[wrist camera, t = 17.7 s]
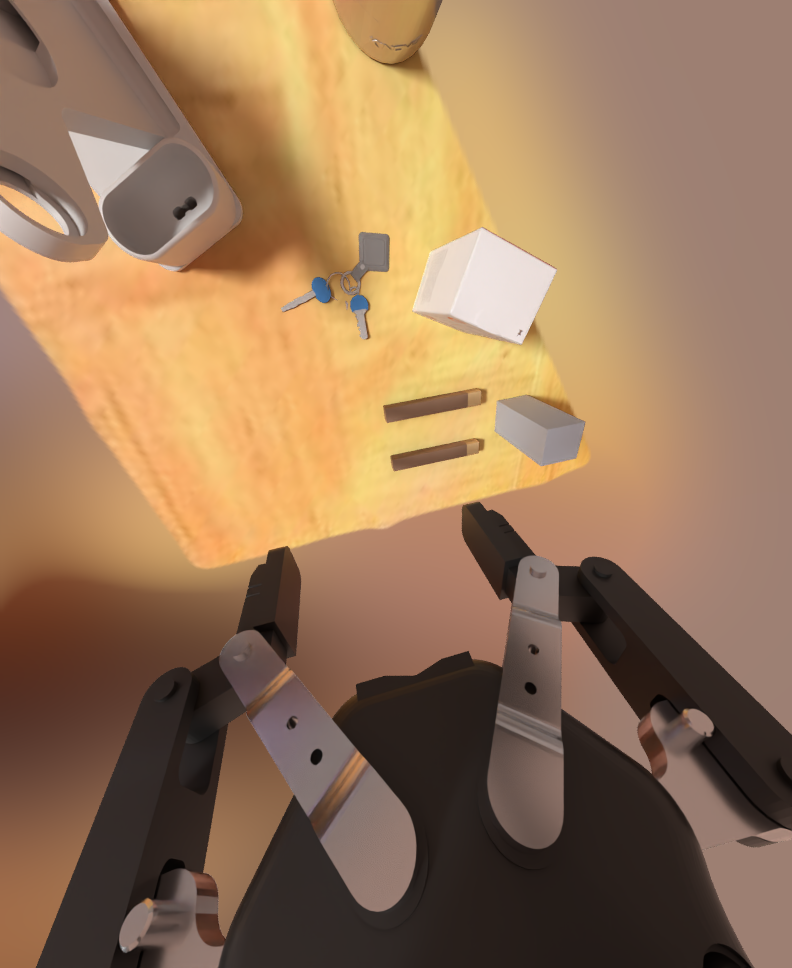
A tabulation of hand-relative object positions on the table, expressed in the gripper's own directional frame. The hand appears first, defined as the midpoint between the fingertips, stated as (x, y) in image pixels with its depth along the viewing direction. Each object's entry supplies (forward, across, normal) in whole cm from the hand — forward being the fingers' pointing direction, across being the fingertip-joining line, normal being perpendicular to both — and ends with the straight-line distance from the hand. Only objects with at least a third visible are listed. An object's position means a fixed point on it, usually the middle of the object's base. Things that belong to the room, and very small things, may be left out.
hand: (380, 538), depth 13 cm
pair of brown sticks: (+30, -12, +9) cm, 34 cm away
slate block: (+30, -25, +9) cm, 40 cm away
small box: (+30, -15, -8) cm, 35 cm away
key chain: (+31, -3, -9) cm, 32 cm away
